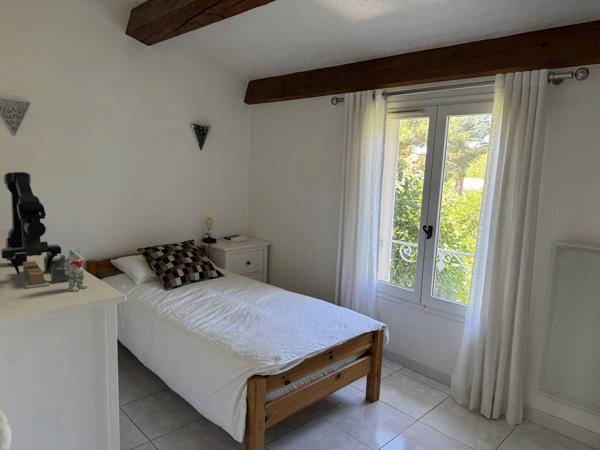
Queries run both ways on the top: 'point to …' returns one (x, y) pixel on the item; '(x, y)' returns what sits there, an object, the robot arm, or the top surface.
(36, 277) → the rail
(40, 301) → the top surface
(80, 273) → the figurine
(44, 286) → the pad
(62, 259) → the rack
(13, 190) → the robot arm
